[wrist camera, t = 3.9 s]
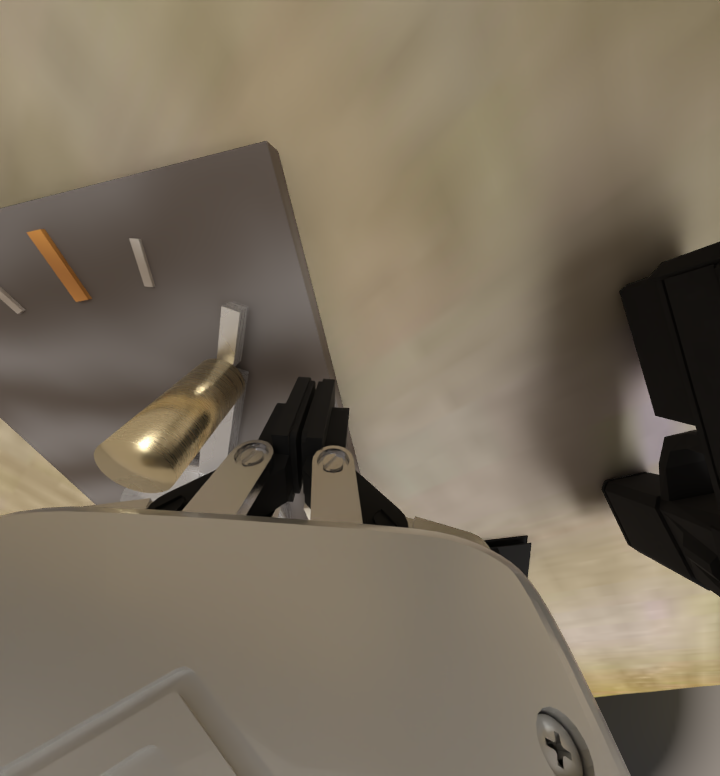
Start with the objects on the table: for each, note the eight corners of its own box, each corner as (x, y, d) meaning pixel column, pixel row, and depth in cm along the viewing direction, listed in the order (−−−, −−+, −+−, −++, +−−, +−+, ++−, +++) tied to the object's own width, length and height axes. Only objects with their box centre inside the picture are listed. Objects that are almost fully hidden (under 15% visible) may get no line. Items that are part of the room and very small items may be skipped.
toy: (602, 537, 22) (979, 898, 7) (531, 309, 21) (816, 207, 6) (676, 524, 21) (1290, 920, 6) (605, 282, 20) (1167, 81, 5)
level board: (-128, 251, 14) (-290, 258, 10) (277, 150, 11) (239, 117, 8) (186, 564, 30) (164, 607, 26) (380, 551, 27) (381, 596, 24)
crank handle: (276, 558, 25) (246, 666, 19) (141, 531, 23) (59, 640, 17) (359, 343, 14) (352, 438, 7) (106, 254, 12) (-181, 282, 6)
